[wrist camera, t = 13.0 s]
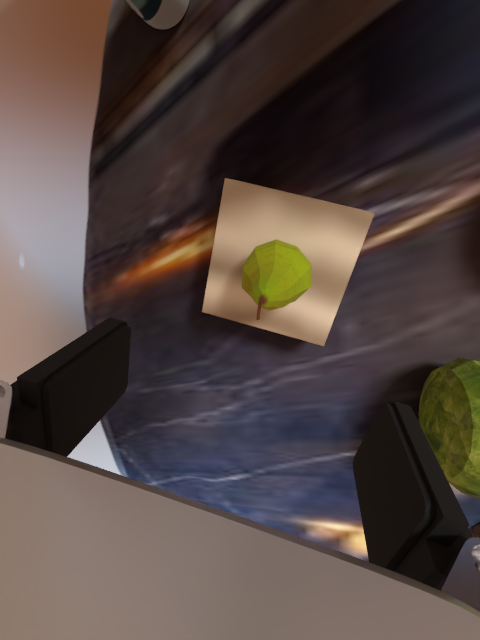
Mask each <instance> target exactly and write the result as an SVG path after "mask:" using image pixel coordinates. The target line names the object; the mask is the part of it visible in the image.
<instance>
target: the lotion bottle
mask: <svg viewBox="0 0 480 640" xmlns="http://www.w3.org/2000/svg"><path fill="white" fill-rule="evenodd" d="M125 1H126V2H127V3H128V4H129V5H130V7H131V8H132V9H133V10H134V11H135V12H136V13H137V14H138V15H139V16H140V17H141V18H142V19H143V20H144V21H145V22H146V23H148V24H149V25H150V26H152V27H154V28H157V29H169V28H171V27H173V26H175V25H176V24H177V23H178V22H179V21H180V20H181V19H182V18H183V16H184V14H185V12H186V10H187V8H188V4H189V0H125Z"/></svg>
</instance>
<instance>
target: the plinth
mask: <svg viewBox="0 0 480 640" xmlns="http://www.w3.org/2000/svg"><path fill="white" fill-rule="evenodd" d="M374 214H375V213H372V212H369V211H365V210H361V209H357V208H352V207H348V206H344V205H340V204H335V203H331V202H327V201H323V200H318V199H314V198H310V197H306V196H301V195H297V194H293V193H289V192H284V191H280V190H276V189H272V188H267V187H263V186H259V185H255V184H250V183H246V182H242V181H238V180H233V179H228V178H225V181H224V186H223V192H222V198H221V204H220V210H219V216H218V221H217V227H216V233H215V239H214V245H213V251H212V256H211V262H210V268H209V274H208V280H207V285H206V291H205V297H204V303H203V309H202V312H204V313H208V314H211V315H215V316H218V317H222V318H226V319H229V320H233V321H236V322H240V323H243V324H247V325H250V326H254V327H258V328H261V329H265V330H268V331H272V332H275V333H279V334H282V335H286V336H290V337H293V338H297V339H300V340H304V341H307V342H311V343H315V344H318V345H322V346H324V344H325V341H326V339H327V336H328V334H329V331H330V328H331V326H332V323H333V320H334V318H335V315H336V313H337V310H338V307H339V305H340V302H341V300H342V297H343V294H344V292H345V289H346V287H347V284H348V281H349V279H350V276H351V274H352V271H353V268H354V266H355V263H356V260H357V258H358V255H359V253H360V250H361V247H362V245H363V242H364V240H365V237H366V234H367V232H368V229H369V227H370V224H371V221H372V219H373V216H374ZM276 239H277V240H279V241H282V242H285V243H288V244H291V245H294V246H296V247H298V248H299V250H300V251H301V252H302V253H303V254H304V256H305V257H306V258H307V259H308V260H309V262H310V263H311V287H310V288H309V289H308V290H307V291H306V292H305V293H304V294H303V295H301V296H300V297H299V298H298V299H297V300H296V301H295V302H292V303H289V304H288V305H287V306H285V307H282V308H278V309H273V310H267V309H263V308H261V312H260V319H259V320H257V309H258V305H257V304H256V303H255V302H254V301H253V299H252V298H251V297H250V296H249V295H248V294H247V293H246V292H245V291H244V290H243V289H242V272H243V265H244V263H245V262H246V260H247V259H248V257H249V256H250V254H251V253H252V251H253V250H254V248H255V247H256V246H259V245H262V244H265V243H267V242H270V241H273V240H276Z"/></svg>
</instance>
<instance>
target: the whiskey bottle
mask: <svg viewBox="0 0 480 640" xmlns="http://www.w3.org/2000/svg"><path fill="white" fill-rule="evenodd" d="M473 533H474V535H475V537H477V538H480V524H478V525H476V526H475V527H473Z"/></svg>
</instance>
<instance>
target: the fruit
mask: <svg viewBox="0 0 480 640" xmlns="http://www.w3.org/2000/svg"><path fill="white" fill-rule="evenodd" d="M310 287H311V263H310V262H309V260H308V259H307V258H306V257H305V256H304V254H303V253H302V252H301V251H300V250H299V248H298V247H296V246H294V245H291V244H288V243H285V242H282V241H279V240H277V239H276V240H273V241H270V242H267V243H265V244H262V245H259V246H256V247H255V248H254V250H253V251H252V253H251V254H250V256H249V257H248V259H247V260H246V262H245V263H244V265H243V272H242V289H243V290H244V291H245V292H246V293H247V294H248V295H249V296H250V297H251V298H252V299H253V301H254V302H255V303H256V304H257V305H258V309H257V320H259V319H260V312H261V308H263V309H267V310H273V309H278V308H282V307H285V306H287V305H288V304H289V303H292V302H295V301H296V300H297V299H298V298H299V297H300V296H301V295H303V294H304V293H305V292H306V291H307V290H308V289H309V288H310Z"/></svg>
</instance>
